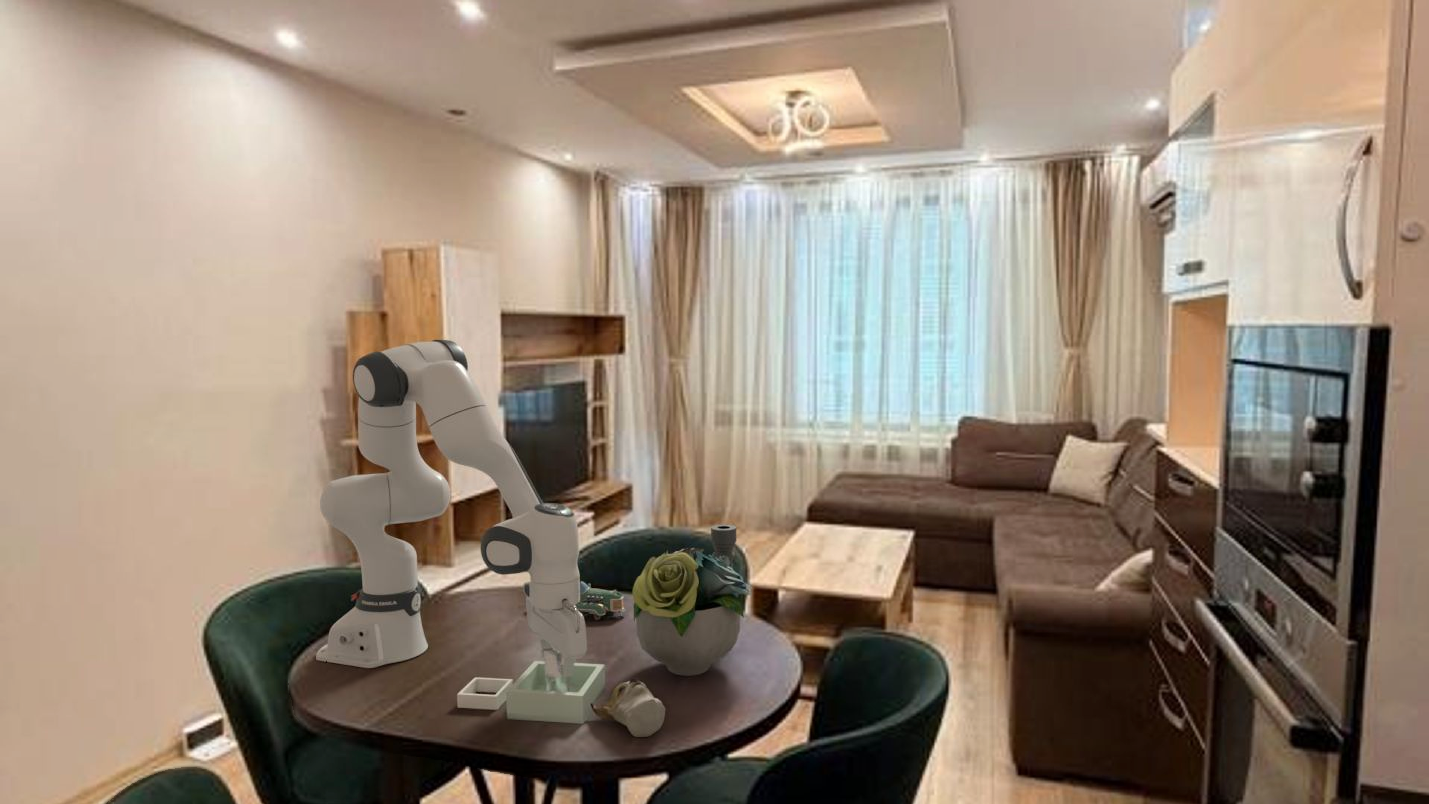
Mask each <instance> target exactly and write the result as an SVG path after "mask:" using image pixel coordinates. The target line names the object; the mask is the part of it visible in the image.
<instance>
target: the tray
mask: <svg viewBox="0 0 1429 804" xmlns="http://www.w3.org/2000/svg"><path fill="white" fill-rule="evenodd" d="M569 691H570V692H557V691H545V660H543V661H542V660H541V661H540V660H534V661H533V662H532V663H531V665H529V667H528V668H526V669H525V671H524V672H523V673H522V674H521V675H520V676H519V677H518V678H517V679H516V681H515V682H513V685H512V686H511V687H510V688H509V689H508V690H507V691H506V701H505V702H506V719H507V720H517V721H519V720H520V721H532V722H535V721H536V722H537V721H538V722H549V723H550V722H551V723H564V724H565V723H566V724H567V723H568V724H581V725H582V724H584V723H585V722H586V720H587V719H588V717H590V715H591V713H592V712H593V710H592V707H591V705H590V703H594V704H598V702H599V700H600V699H601V697H602V696H603V694H604V692H605V691H606V665H605V664H602V663H586V662H585V663H580V662H575V663H574V666H573V675H572V676H569Z"/></svg>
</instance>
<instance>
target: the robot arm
mask: <svg viewBox="0 0 1429 804" xmlns="http://www.w3.org/2000/svg"><path fill="white" fill-rule="evenodd" d="M468 369H469V365H468V361H467V357H466V354H465V352H464V351H463V348H461V346H460V345H459V344H458V343H456V342H454V341H453V340H448V339H433V340H432V341H418V342H417V341H416V342H411V343H406V344H403V345H399V346H395V347H391V348H389V349H384V350H382V351H378V350H377V351H373V352H371V353H368V354H366V355H363V356H361V357H360V358H359V359H357V360H356V362H355V364H354V366H353V371H352V382H353V388H354V390H355V392H356V394H357V396H358V397H359V398H358V404H357V405H358V407H357V410H358V411H357V423H358V424H357V428H358V430H357V432H358V436H357V437H358V439H357V440H358V443H357V444H358V449H359V452H360V454H361V455H362V456H363V457H364V458H365V459H366V460H367V461H368V462H371V463H372V464H375V465H377V466H380V467H383V468H385V469H387V470H389V471H388V472H384V473H383V472H382V473H381V472H380V473H371V474H370V473H369V474H368V473H367V474H355V475H354V474H353V475H350V476H346V477H341V478H338V479H334V480H331V481H329V482H328V483H327V485H326V486H325V487H324V489H323V490H322V493H321V496H320V500H319V507H320V512H321V515H322V516H323V518H324V520H325V521H326V522H327V523H328V524H329V525H331V526H332V527H333V528H335V529H338V530H339V531H340V532H342V533H344V535H345V536H346V537H347V538H348V539H349V540H350V541H351V543H352V544H353V546H354V547H355V549H356V551H357V554H358V557H359V562H360V569H361V582H362V588H361V589H358V590H357V591H356V593H354V594H353V595H352V594H351V596H350V598H351V601H352V602H353V601H354V600H356V603H355V605H354V607H353V608H352V609H350V610H349V611H347V613H345V614H344V615H343V616H342V617H341V618H339V619H338V620H337V621H336V622H335V623H333V625H332V626H331V627H330V629H329V633H328V637H327V644H325V645H323V646H322V647H321V648H320V649H318V650H317V652H316V655H315V660H316V661H320V662H326V661H327V663H334V664H339V665H344V666H345V665H346V666H353V667H357V668H358V667H359V668H364V669H374V668H378V667H380V666H381V667H382V666H384V665H388V664H393V663H398V662H403V661H407V660H410V659H413V658H415V657H417V656H420V655H422V654H423V653H424V652H426V650H427V649H428V647H429V643H428V642H427V639H426V636H425V633H424V628H423V625H422V624H423V623H422V619H421V604H422V603H421V601H422V600H421V585H420V583H419V581H418V580H419V579H418V578H419V577H418V576H419V575H418V557H417V551H416V549H415V547H414V546H413V545H412V544H411V543H409V542H407V541H405V540H403V539H399V538H396V537H394V536H391V535H389V534H387V533H386V531H385V527H386V526H388V525H395V524H404V523H415V522H422V521H426V520H429V519H433V518H436V517H440V516H442V515H443V514H444V513H445V512H446V510H447V508H448V507H449V504H450V501H451V487H450V485H449V483H448V481H447V479H446V477H444V475H443V474H441V473H440V472H438V471H436V470H435V469H433V468H432V467H431V466H429V465H428V464H427V463H426V462H425V461H424V459H423V458H422V455H421V454H420V451H419V447H418V443H417V442H418V441H417V405H419V406H420V408H421V411H422V414H423V415H424V418H425V422H426V424H427V426H428V429H429V432H430V434H431V436H432V438H433V441H434V443H435V445H436V447H437V448H438V450H439V451H440V453H441V454H442V455H443V456H444V458H446V459H447V460H449V461H450V462H453V463H455V464H457V465H461V466H465V467H469V468H472V469H475V470H478V471H480V472H482V473H484V474H486V475H487V476H488V477H490V479H492V481H493V482H494V483H495V485H496V487H497V489H498V490H499V492H500V494H501V496H502V498H503V500H504V502H505V503H506V505H507V507H508V509H509V511H510V513H511V515H512V516H511V517H512V518H509V519H507V520H504V521H501V522H499V523H497V524H494V525H492V527H490V528H488V529H487V530H486V531H485V532H484V533H483V535H482V537H481V540H480V555H481V558H482V560H483V563H484V564H485V565H486V567H487V568H488V569H489V570H491V572H493V573H495V574H498V575H503V576H504V575H515V574H521V573H528V574H529V576H530V577H529V578H530V579H529V580H530V581H526V582H524V583H523V584H522V585H523V586H522V588H523V589H522V590H523V593H524V595H525V596H526V597H525V606H526V607H525V608H526V617H527V622H528V626H529V629H530V630H532V632H534V633H536V634H537V636H538V638H537V639H538V642H539V646H540V649H541V650H540V651H541V657H542V658H543V659H544V651H545V650H546V649H548V648H551V647H554V648H555V649H556V650H557V651H558V652H560V653H561V654H562V658H563V665H561V674H562V675H563V676H564V677H569V676H572V675H573V666H574V663H576V661H577V659H579V658H583V657H585V656H586V654H587V652H588V642H587V641H588V640H587V630H586V628H587V627H586V621H585V617H583V615H582V614H581V613H580V611H579V610H577V607H576V604H577V603H579V601H580V582H581V579H580V578H581V577H580V570H579V567H578V560H579V555H580V541H579V527H578V522H577V518H576V515H575V512H574V511H573V510H572V509H571V508H570V507H568V506H567V505H564V504H560V503H554V502H544V500H542V498H541V496H540V495H539V493H538V491H537V489H536V488H535V485H534V484H533V482H532V480H531V478H530V476H529V475H528V473H527V470H526V469H525V467H524V465H523V463H522V462H521V459H520V458H519V456H518V454H517V453H516V451H515V449H514V448H513V447H512V445H511V444H510V443H509V441H508V440H507V439H506V438H505V437H504V436H503V435H502V433H501V432H500V430H499V429H498V426H497V425H496V423H495V421H494V419H493V417H492V415H491V413H490V411H489V409H488V407H487V404H486V402H485V399H484V397H483V395H482V393H481V391H480V389H479V388H478V386H477V385H476V383H475V381H474V379H473V378H472V376H471V375H470V373H469V372H468Z"/></svg>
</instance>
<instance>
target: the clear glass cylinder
mask: <svg viewBox="0 0 1429 804" xmlns="http://www.w3.org/2000/svg"><path fill="white" fill-rule="evenodd" d="M543 659H544V661H545V691H557V692H570V691H569V677H564V676H563V675H562V674H561V665H563V658H562V654H561V653H560V652H558V651H557V650H556V649H555V648H554V647H551V648H548V649H546V650H545V651H544V658H543Z"/></svg>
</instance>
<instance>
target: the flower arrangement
mask: <svg viewBox="0 0 1429 804" xmlns="http://www.w3.org/2000/svg"><path fill="white" fill-rule="evenodd" d="M705 550H706V549H705V548H700V547H699V548H698V547H697V548H696V547H692V548H682V549H680V550H679V551H677V550H676V551H674V552H671V553H668V552H669V551H668V550H667V551H666V552H663V553H661V555H659V556H658V557H655V556H651V557H650V558H649V560H648V561H647V562H646V564H645V566H644V568H643V569H642V572H641V574H640V575H639V576H637V577H636V579H635V581H634V583H633V587H632V598H633V600H634V603H633V622H635V623H636V632H637V633H636V634H637V637H638V641H639V644H640V646H641V649H642V650H643V651H644V652H645V653H646V654H648V655H649V656H650V657H651V658H653V659H654V660H656V661H657V662H659V663H661V664H664V665H666V667H667V668H666V669H667V670H668V671H669V672H670V673H672V674H674V675H677V676H683V677H688V676H689V677H690V676H691V677H692V676H698V675H702V674H703V673H706V672H707V671H708V670H709V668H710V667H711V664H713V663H715V662H717V661H719V660H720V659H724V657H726V655H728V654H729V653H730V652H731V651H732V649H733V648H734V647H735V645H736V643H737V640H738V638H737V637H739V634H740V631H741V617H742V618H745V614H744V611H743V604H742V600H741V599H740V598H739V596H738V597H736V596H737V595H741V594H743V595H748V596H752V594H751V591H753V588H752V585H750V584H748V583H746V582H744V577H743V576H742V575H741V574H739V573H737V572H736V571H735V570H734V569H733V570H732V568H733V567H732V568H730V567H729V564H730V561H729V557H727V556H723V558H724V559H723V560H722V557H721V556H720V557H719V558H718V559H717V558H716V557H715V556H713V555H712V554H708V556H707V555H706V551H705ZM749 589H751V591H750V590H749Z"/></svg>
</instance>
